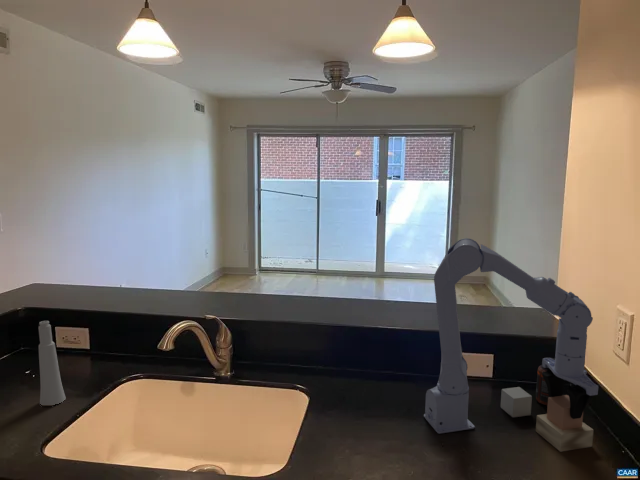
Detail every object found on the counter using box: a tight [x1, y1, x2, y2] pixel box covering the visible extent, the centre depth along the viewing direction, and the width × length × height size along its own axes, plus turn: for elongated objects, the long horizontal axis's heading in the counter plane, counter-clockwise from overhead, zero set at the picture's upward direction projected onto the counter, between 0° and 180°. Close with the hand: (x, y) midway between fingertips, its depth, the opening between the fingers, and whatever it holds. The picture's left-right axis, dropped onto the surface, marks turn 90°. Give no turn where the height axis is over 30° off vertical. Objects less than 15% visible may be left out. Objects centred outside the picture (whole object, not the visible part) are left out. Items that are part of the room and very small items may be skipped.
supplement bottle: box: [535, 357, 555, 407], centre depth 121 cm, size 6×6×11 cm
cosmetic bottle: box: [38, 320, 67, 406], centre depth 123 cm, size 6×6×22 cm
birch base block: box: [535, 413, 594, 453], centre depth 106 cm, size 8×8×4 cm
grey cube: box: [500, 386, 533, 418], centre depth 117 cm, size 5×5×5 cm
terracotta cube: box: [546, 394, 584, 430], centre depth 105 cm, size 5×5×5 cm
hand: (565, 410), depth 105 cm, fingers open, 6 cm apart
